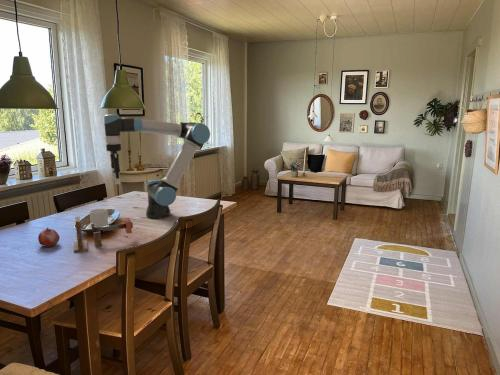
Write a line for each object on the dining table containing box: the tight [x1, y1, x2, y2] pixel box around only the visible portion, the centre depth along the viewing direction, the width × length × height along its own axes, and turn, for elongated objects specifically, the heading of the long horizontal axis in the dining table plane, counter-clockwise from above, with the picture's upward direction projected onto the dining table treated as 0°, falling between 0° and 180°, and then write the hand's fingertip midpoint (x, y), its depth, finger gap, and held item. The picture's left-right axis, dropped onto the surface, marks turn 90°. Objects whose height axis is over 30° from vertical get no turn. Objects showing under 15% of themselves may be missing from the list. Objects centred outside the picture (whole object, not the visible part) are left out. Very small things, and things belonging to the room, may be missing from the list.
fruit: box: [37, 227, 60, 248], centre depth 182 cm, size 9×10×10 cm
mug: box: [89, 208, 109, 229], centre depth 206 cm, size 12×9×11 cm
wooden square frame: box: [73, 216, 89, 253], centre depth 179 cm, size 6×12×14 cm, turn 25°
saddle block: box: [93, 232, 102, 248], centre depth 184 cm, size 3×5×6 cm, turn 25°
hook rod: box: [90, 217, 134, 234], centre depth 186 cm, size 19×6×7 cm, turn 115°
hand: (116, 181), depth 204 cm, fingers open, 13 cm apart
